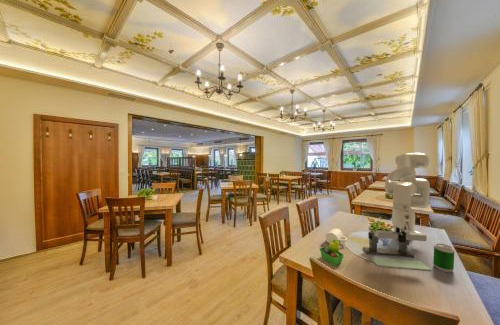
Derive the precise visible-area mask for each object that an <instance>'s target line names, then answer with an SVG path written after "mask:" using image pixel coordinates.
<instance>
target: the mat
mask: <svg viewBox="0 0 500 325" xmlns="http://www.w3.org/2000/svg"><path fill="white" fill-rule="evenodd" d="M370 259H371V260H372V261H373V263H374V264H375V265H376V267H383V268H397V269H406V270H407V269H409V270H417V271H418V270H419V271H428V272H429V271H432V269H431V268H430V267H429V266H427V265H426V264H425V263H423V262H422V261H421V260H413V259H412V260H410V259H398V258H385V257H373V256H370Z"/></svg>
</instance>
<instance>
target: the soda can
mask: <svg viewBox="0 0 500 325" xmlns="http://www.w3.org/2000/svg"><path fill="white" fill-rule="evenodd" d="M432 264H433V266H434V268H436V269H438V270H440V271H442V272H446V273H451V272H453V271H454V269H455V268H454V266H455V265H454V264H455V250H454V248H453V247H452V246H451V245H448V244H444V243H436V244H434V245H433V263H432Z"/></svg>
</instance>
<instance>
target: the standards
mask: <svg viewBox="0 0 500 325" xmlns="http://www.w3.org/2000/svg"><path fill="white" fill-rule="evenodd" d="M367 237H368V239H369V246H368V247H367V246H366V247H365V246H363V247H362V250H363V249H364V250H365V251H364V250H363V251H364V252H365V253H366V254H367V255H376V254H378V255H379V256H392V257H403V258H415V255H414V254H413V253H412V252H411V251H409V250H408V246H409V245H410V240H406V243H403V242H399V239H396V241H397V245H398V247H397V249H395V248H380V247H379V248H378V244H379V243H380V241H379V240H380V238H378V237H376V232H373V231H368V236H367Z"/></svg>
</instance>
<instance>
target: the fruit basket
mask: <svg viewBox="0 0 500 325" xmlns="http://www.w3.org/2000/svg"><path fill="white" fill-rule="evenodd" d="M340 245H341V244H340V241H339V242H338V240H336V239H335V240H333V241H332V242H331V243H330V244H329V243H328V246H324V247H319V252H320V255H321V258H322V259H323V260H325V261H327V262H328V263H329V264H331V265H332V266H338V265H340V264H341V265H342V261H343V258H344V257H345V255H344V254H343V253H342V252H340Z"/></svg>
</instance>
